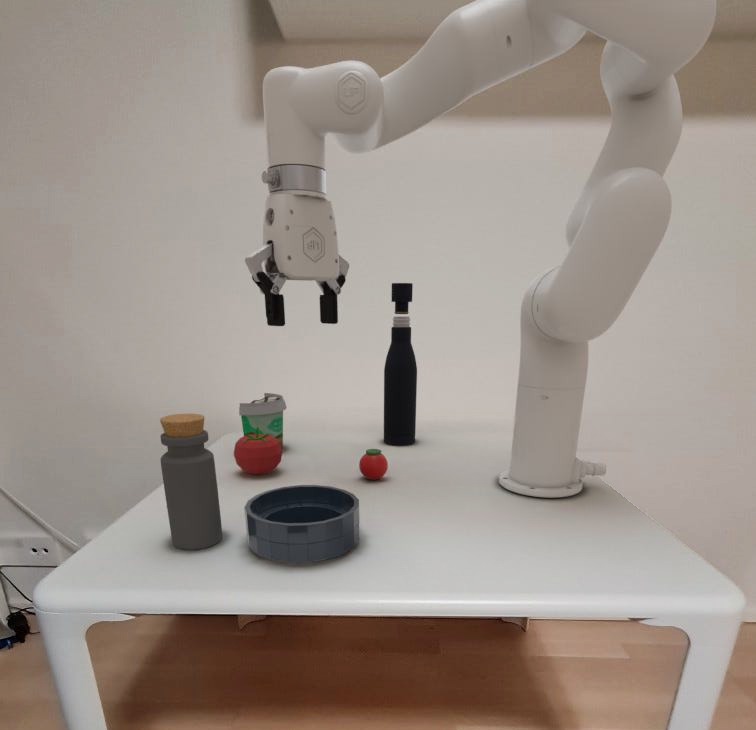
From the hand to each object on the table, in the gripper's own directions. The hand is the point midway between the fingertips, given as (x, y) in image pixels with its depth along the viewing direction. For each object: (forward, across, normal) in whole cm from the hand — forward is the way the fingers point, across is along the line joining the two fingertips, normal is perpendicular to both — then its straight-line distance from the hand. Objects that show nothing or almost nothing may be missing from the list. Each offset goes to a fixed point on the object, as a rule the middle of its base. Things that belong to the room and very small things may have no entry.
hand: (303, 324), depth 77 cm
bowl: (+24, -15, -16) cm, 32 cm away
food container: (+24, +8, +21) cm, 33 cm away
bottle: (+24, -23, -6) cm, 34 cm away
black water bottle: (+24, +30, +7) cm, 39 cm away
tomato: (+24, -2, +11) cm, 26 cm away
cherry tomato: (+24, +8, -6) cm, 26 cm away
